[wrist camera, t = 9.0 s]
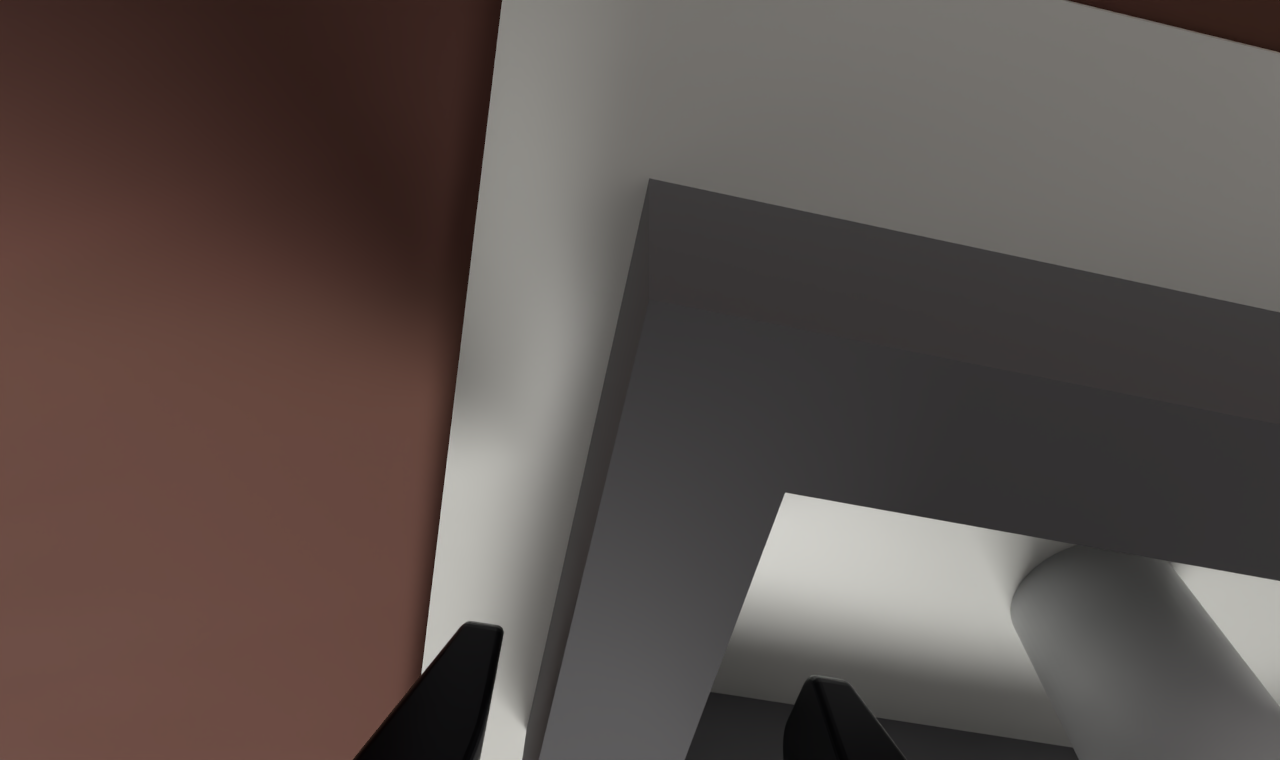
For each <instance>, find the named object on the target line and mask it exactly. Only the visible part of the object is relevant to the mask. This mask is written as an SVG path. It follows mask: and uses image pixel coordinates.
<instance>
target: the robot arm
mask: <svg viewBox="0 0 1280 760" xmlns="http://www.w3.org/2000/svg"><path fill="white" fill-rule="evenodd" d="M503 635H504V631H503V628H502V627H501V626H499V625H495V624H488V623H482V622H475V621H467V622H465V623H464V624H463V625H461V627H460V628H459V629H458V630H457V631H456V633H455V634H454V635H453V636H452V638H451V639H450V640H449V641H448V642H447V644H446V645H445V646H444V647H443V649H442V650H441V651H440V652H439V654H438V655H437V656H436V657H435V659H434V660H433V661H432V662H431V664H430V665H429V666H428V667H427V668H426V670H425V671H424V672H423V673H422V675H421V676H420V677H419V678H418V680H417V681H416V682H415V683H414V685H413V686H412V687H411V688H410V689H409V691H408V692H407V693H406V694H405V696H404V697H403V698H402V699H401V701H400V702H399V703H398V704H397V706H396V707H395V708H394V709H393V711H392V712H391V713H390V714H389V715H388V717H387V718H386V719H385V720H384V722H383V723H382V724H381V725H380V727H379V728H378V729H377V730H376V732H375V733H374V734H373V735H372V737H371V738H370V739H369V740H368V741H367V743H366V744H365V745H364V746H363V748H362V749H361V750H360V751H359V753H358V754H357V755H356V756H355V758H354V759H353V760H480V757H481V752H482V747H483V742H484V736H485V731H486V726H487V721H488V715H489V710H490V705H491V700H492V694H493V689H494V684H495V679H496V673H497V668H498V662H499V657H500V652H501V646H502V641H503ZM783 760H907V759H906V757H905V756H904V755H903V753H902V752H901V751H900V749H899V748H898V747H897V745H896V744H895V743H894V741H893V740H892V739H891V737H890V736H889V735H888V733H887V732H886V731H885V729H884V728H883V727H882V725H881V724H880V723H879V721H878V720H877V719H876V717H875V716H874V715H873V713H872V712H871V711H870V709H869V708H868V707H867V705H866V704H865V703H864V701H863V700H862V699H861V697H860V696H859V695H858V693H857V692H856V691H855V689H854V688H853V687H852V686H851V685H850V684H849V683H848V682H847V681H845V680H843V679H839V678H833V677H826V676H820V675H811V676H810V677H808V678H807V679H806V681H805V682H804V684H803V686H802V689H801V691H800V693H799V695H798V697H797V700H796V702H795V704H794V706H793V708H792V711H791V713H790V715H789V717H788V719H787V722H786V725H785V729H784V735H783Z"/></svg>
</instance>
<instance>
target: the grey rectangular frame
mask: <svg viewBox="0 0 1280 760" xmlns="http://www.w3.org/2000/svg"><path fill="white" fill-rule="evenodd" d="M785 493H790V494H796V495H801V496H807V497H813V498H818V499H824V500H829V501H835V502H841V503H846V504H852V505H857V506H863V507H869V508H874V509H880V510H885V511H891V512H896V513H902V514H908V515H913V516H919V517H924V518H930V519H936V520H941V521H947V522H952V523H958V524H964V525H969V526H975V527H980V528H986V529H991V530H997V531H1003V532H1008V533H1014V534H1019V535H1025V536H1031V537H1036V538H1042V539H1047V540H1053V541H1059V542H1064V543H1070V544H1075V545H1081V546H1087V547H1092V548H1098V549H1103V550H1109V551H1114V552H1120V553H1126V554H1131V555H1137V556H1142V557H1148V558H1154V559H1159V560H1165V561H1170V562H1176V563H1182V564H1187V565H1193V566H1198V567H1204V568H1210V569H1215V570H1221V571H1226V572H1232V573H1237V574H1243V575H1249V576H1254V577H1260V578H1265V579H1271V580H1277V581H1280V312H1276V311H1271V310H1266V309H1262V308H1257V307H1252V306H1248V305H1243V304H1238V303H1233V302H1229V301H1224V300H1219V299H1215V298H1210V297H1205V296H1201V295H1196V294H1191V293H1186V292H1182V291H1177V290H1172V289H1168V288H1163V287H1158V286H1154V285H1149V284H1144V283H1139V282H1135V281H1130V280H1125V279H1121V278H1116V277H1111V276H1107V275H1102V274H1097V273H1092V272H1088V271H1083V270H1078V269H1074V268H1069V267H1064V266H1060V265H1055V264H1050V263H1045V262H1041V261H1036V260H1031V259H1027V258H1022V257H1017V256H1013V255H1008V254H1003V253H998V252H994V251H989V250H984V249H980V248H975V247H970V246H966V245H961V244H956V243H951V242H947V241H942V240H937V239H933V238H928V237H923V236H919V235H914V234H909V233H904V232H900V231H895V230H890V229H886V228H881V227H876V226H872V225H867V224H862V223H857V222H853V221H848V220H843V219H839V218H834V217H829V216H825V215H820V214H815V213H810V212H806V211H801V210H796V209H792V208H787V207H782V206H778V205H773V204H768V203H763V202H759V201H754V200H749V199H745V198H740V197H735V196H731V195H726V194H721V193H716V192H712V191H707V190H702V189H698V188H693V187H688V186H684V185H679V184H674V183H669V182H665V181H660V180H655V179H651V178H649V182H648V186H647V191H646V195H645V200H644V204H643V209H642V213H641V218H640V222H639V227H638V231H637V236H636V240H635V245H634V249H633V254H632V258H631V263H630V267H629V272H628V276H627V281H626V285H625V290H624V294H623V299H622V303H621V308H620V312H619V317H618V321H617V325H616V330H615V334H614V339H613V343H612V348H611V352H610V357H609V361H608V366H607V370H606V375H605V379H604V384H603V388H602V393H601V397H600V402H599V406H598V411H597V415H596V420H595V424H594V429H593V433H592V438H591V442H590V447H589V451H588V456H587V460H586V465H585V469H584V474H583V478H582V483H581V487H580V492H579V496H578V501H577V505H576V510H575V514H574V519H573V523H572V528H571V532H570V537H569V541H568V546H567V550H566V555H565V559H564V564H563V568H562V573H561V577H560V582H559V586H558V591H557V595H556V600H555V604H554V609H553V613H552V618H551V622H550V627H549V631H548V636H547V640H546V645H545V649H544V654H543V658H542V663H541V667H540V672H539V676H538V681H537V685H536V690H535V694H534V699H533V703H532V708H531V712H530V717H529V721H528V726H527V730H526V737H525V744H524V751H523V757H522V760H783V735H784V729H785V725H786V722H787V719H788V717H789V715H790V713H791V711H792V708H793V706H794V705H793V704H786V703H780V702H773V701H767V700H760V699H754V698H747V697H741V696H734V695H728V694H721V693H715V692H710V691H711V688H712V686H713V683H714V680H715V678H716V675H717V672H718V670H719V667H720V664H721V662H722V659H723V657H724V654H725V651H726V649H727V646H728V643H729V641H730V638H731V635H732V633H733V630H734V627H735V625H736V622H737V619H738V617H739V614H740V611H741V609H742V606H743V603H744V601H745V598H746V595H747V593H748V590H749V587H750V585H751V582H752V579H753V577H754V574H755V571H756V569H757V566H758V563H759V561H760V558H761V555H762V553H763V550H764V547H765V545H766V542H767V540H768V537H769V534H770V532H771V529H772V526H773V524H774V521H775V518H776V516H777V513H778V510H779V508H780V505H781V502H782V500H783V497H784V494H785ZM876 719H877V720H878V721H879V723H880V724H881V725H882V727H883V728H884V729H885V731H886V732H887V733H888V735H889V736H890V737H891V739H892V740H893V741H894V743H895V744H896V745H897V747H898V748H899V749H900V751H901V752H902V753H903V755H904V756H905V757H906V759H907V760H1079V759H1078V757H1077V755H1076V753H1075V751H1074V749H1073V748H1072V747H1066V746H1059V745H1053V744H1046V743H1040V742H1033V741H1027V740H1020V739H1014V738H1007V737H1001V736H994V735H988V734H981V733H975V732H968V731H962V730H955V729H949V728H942V727H936V726H929V725H923V724H916V723H910V722H903V721H897V720H890V719H884V718H877V717H876Z"/></svg>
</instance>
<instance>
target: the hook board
mask: <svg viewBox="0 0 1280 760" xmlns="http://www.w3.org/2000/svg"><path fill="white" fill-rule="evenodd" d="M649 178H651V179H655V180H660V181H665V182H669V183H674V184H679V185H684V186H688V187H693V188H698V189H702V190H707V191H712V192H716V193H721V194H726V195H731V196H735V197H740V198H745V199H749V200H754V201H759V202H763V203H768V204H773V205H778V206H782V207H787V208H792V209H796V210H801V211H806V212H810V213H815V214H820V215H825V216H829V217H834V218H839V219H843V220H848V221H853V222H857V223H862V224H867V225H872V226H876V227H881V228H886V229H890V230H895V231H900V232H904V233H909V234H914V235H919V236H923V237H928V238H933V239H937V240H942V241H947V242H951V243H956V244H961V245H966V246H970V247H975V248H980V249H984V250H989V251H994V252H998V253H1003V254H1008V255H1013V256H1017V257H1022V258H1027V259H1031V260H1036V261H1041V262H1045V263H1050V264H1055V265H1060V266H1064V267H1069V268H1074V269H1078V270H1083V271H1088V272H1092V273H1097V274H1102V275H1107V276H1111V277H1116V278H1121V279H1125V280H1130V281H1135V282H1139V283H1144V284H1149V285H1154V286H1158V287H1163V288H1168V289H1172V290H1177V291H1182V292H1186V293H1191V294H1196V295H1201V296H1205V297H1210V298H1215V299H1219V300H1224V301H1229V302H1233V303H1238V304H1243V305H1248V306H1252V307H1257V308H1262V309H1266V310H1271V311H1276V312H1280V52H1277V51H1272V50H1268V49H1264V48H1260V47H1256V46H1252V45H1248V44H1244V43H1240V42H1236V41H1232V40H1227V39H1223V38H1219V37H1215V36H1211V35H1207V34H1203V33H1199V32H1195V31H1191V30H1187V29H1183V28H1178V27H1174V26H1170V25H1166V24H1162V23H1158V22H1154V21H1150V20H1146V19H1142V18H1138V17H1133V16H1129V15H1125V14H1121V13H1117V12H1113V11H1109V10H1105V9H1101V8H1097V7H1093V6H1088V5H1084V4H1080V3H1076V2H1072V1H1068V0H502V5H501V14H500V22H499V30H498V39H497V47H496V55H495V64H494V72H493V80H492V89H491V97H490V105H489V114H488V122H487V131H486V139H485V147H484V156H483V164H482V172H481V181H480V189H479V197H478V206H477V214H476V222H475V231H474V239H473V247H472V256H471V264H470V272H469V281H468V289H467V298H466V306H465V314H464V323H463V331H462V339H461V348H460V356H459V364H458V373H457V381H456V389H455V398H454V406H453V414H452V423H451V431H450V439H449V448H448V456H447V464H446V473H445V481H444V490H443V498H442V506H441V515H440V523H439V531H438V540H437V548H436V556H435V565H434V573H433V581H432V590H431V598H430V606H429V615H428V623H427V631H426V640H425V648H424V657H423V665H422V673H423V672H424V671H425V670H426V668H427V667H428V666H429V665H430V664H431V662H432V661H433V660H434V659H435V657H436V656H437V655H438V654H439V652H440V651H441V650H442V649H443V647H444V646H445V645H446V644H447V642H448V641H449V640H450V639H451V638H452V636H453V635H454V634H455V633H456V631H457V630H458V629H459V628H460V627H461V625H463V624H464V623H465V622H467V621H475V622H482V623H488V624H495V625H499V626H501V627H502V628H503V631H504V635H503V641H502V646H501V652H500V657H499V662H498V668H497V673H496V679H495V684H494V689H493V694H492V700H491V705H490V710H489V715H488V721H487V726H486V731H485V736H484V742H483V747H482V752H481V757H480V760H522V757H523V751H524V744H525V737H526V730H527V726H528V721H529V717H530V712H531V708H532V703H533V699H534V694H535V690H536V685H537V681H538V676H539V672H540V667H541V663H542V658H543V654H544V649H545V645H546V640H547V636H548V631H549V627H550V622H551V618H552V613H553V609H554V604H555V600H556V595H557V591H558V586H559V582H560V577H561V573H562V568H563V564H564V559H565V555H566V550H567V546H568V541H569V537H570V532H571V528H572V523H573V519H574V514H575V510H576V505H577V501H578V496H579V492H580V487H581V483H582V478H583V474H584V469H585V465H586V460H587V456H588V451H589V447H590V442H591V438H592V433H593V429H594V424H595V420H596V415H597V411H598V406H599V402H600V397H601V393H602V388H603V384H604V379H605V375H606V370H607V366H608V361H609V357H610V352H611V348H612V343H613V339H614V334H615V330H616V325H617V321H618V317H619V312H620V308H621V303H622V299H623V294H624V290H625V285H626V281H627V276H628V272H629V267H630V263H631V258H632V254H633V249H634V245H635V240H636V236H637V231H638V227H639V222H640V218H641V213H642V209H643V204H644V200H645V195H646V191H647V186H648V182H649ZM422 673H421V675H422ZM811 675H820V676H826V677H833V678H839V679H843V680H845V681H847V682H848V683H849V684H850V685H851V686H852V687H853V688H854V689H855V691H856V692H857V693H858V695H859V696H860V697H861V699H862V700H863V701H864V703H865V704H866V705H867V707H868V708H869V709H870V711H871V712H872V713H873V715H874V716H875V717H877V718H884V719H890V720H897V721H903V722H910V723H916V724H923V725H929V726H936V727H942V728H949V729H955V730H962V731H968V732H975V733H981V734H988V735H994V736H1001V737H1007V738H1014V739H1020V740H1027V741H1033V742H1040V743H1046V744H1053V745H1059V746H1066V747H1072V748H1073V749H1074V751H1075V753H1076V755H1077V757H1078V759H1079V760H1280V581H1277V580H1271V579H1265V578H1260V577H1254V576H1249V575H1243V574H1237V573H1232V572H1226V571H1221V570H1215V569H1210V568H1204V567H1198V566H1193V565H1187V564H1182V563H1176V562H1170V561H1165V560H1159V559H1154V558H1148V557H1142V556H1137V555H1131V554H1126V553H1120V552H1114V551H1109V550H1103V549H1098V548H1092V547H1087V546H1081V545H1075V544H1070V543H1064V542H1059V541H1053V540H1047V539H1042V538H1036V537H1031V536H1025V535H1019V534H1014V533H1008V532H1003V531H997V530H991V529H986V528H980V527H975V526H969V525H964V524H958V523H952V522H947V521H941V520H936V519H930V518H924V517H919V516H913V515H908V514H902V513H896V512H891V511H885V510H880V509H874V508H869V507H863V506H857V505H852V504H846V503H841V502H835V501H829V500H824V499H818V498H813V497H807V496H801V495H796V494H790V493H785V494H784V497H783V500H782V502H781V505H780V508H779V510H778V513H777V516H776V518H775V521H774V524H773V526H772V529H771V532H770V534H769V537H768V540H767V542H766V545H765V547H764V550H763V553H762V555H761V558H760V561H759V563H758V566H757V569H756V571H755V574H754V577H753V579H752V582H751V585H750V587H749V590H748V593H747V595H746V598H745V601H744V603H743V606H742V609H741V611H740V614H739V617H738V619H737V622H736V625H735V627H734V630H733V633H732V635H731V638H730V641H729V643H728V646H727V649H726V651H725V654H724V657H723V659H722V662H721V664H720V667H719V670H718V672H717V675H716V678H715V680H714V683H713V686H712V688H711V691H710V692H715V693H721V694H728V695H734V696H741V697H747V698H754V699H760V700H767V701H773V702H780V703H786V704H793V705H794V704H795V702H796V700H797V697H798V695H799V693H800V691H801V689H802V686H803V684H804V682H805V681H806V679H807V678H808V677H810V676H811Z"/></svg>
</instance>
